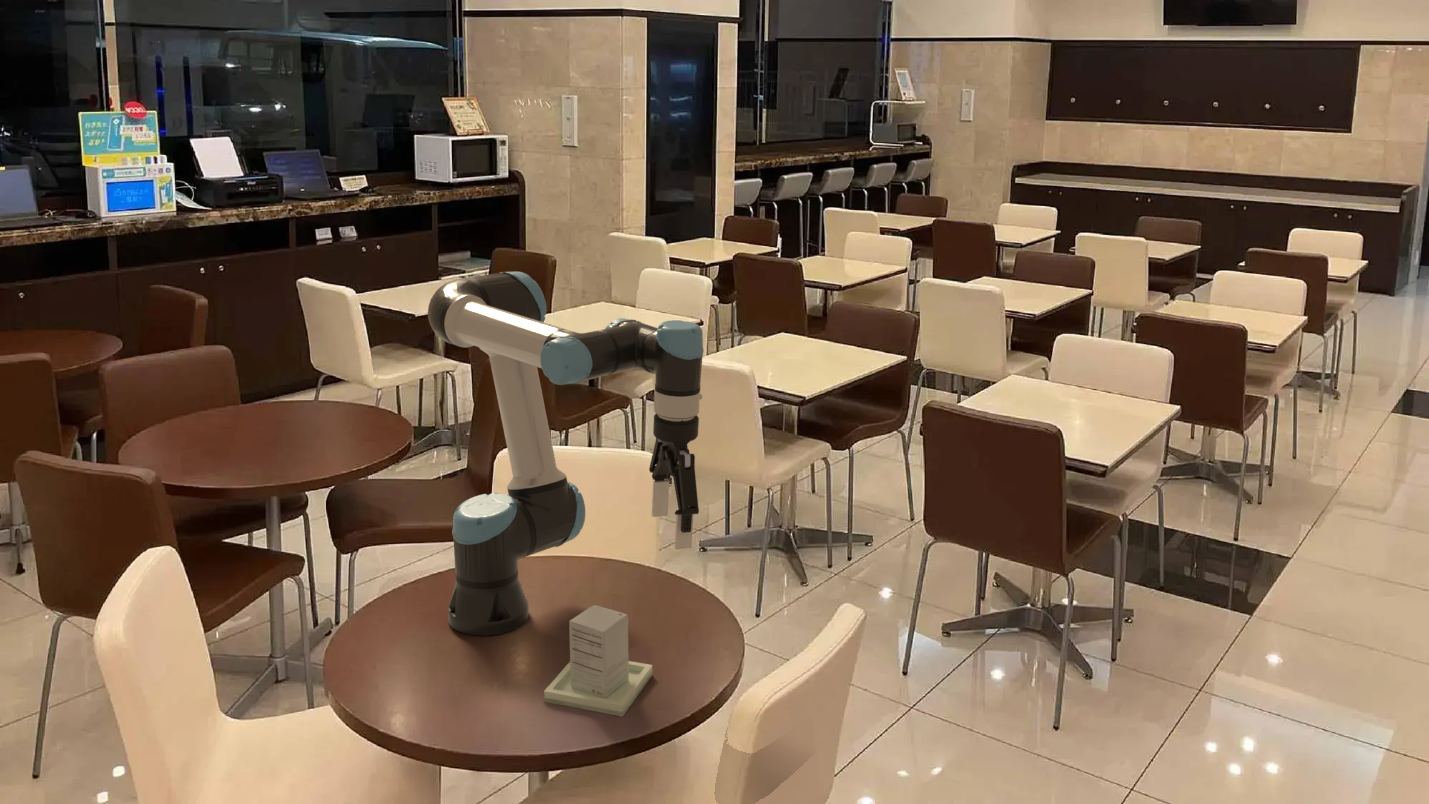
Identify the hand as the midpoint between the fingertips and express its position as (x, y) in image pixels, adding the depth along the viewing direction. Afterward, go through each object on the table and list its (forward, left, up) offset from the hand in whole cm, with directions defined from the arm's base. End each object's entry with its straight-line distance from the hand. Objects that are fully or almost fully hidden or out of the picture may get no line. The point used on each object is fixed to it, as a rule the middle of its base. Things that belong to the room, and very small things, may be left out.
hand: (671, 531), depth 203 cm
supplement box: (-8, -12, -25) cm, 29 cm away
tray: (-8, -12, -25) cm, 29 cm away
